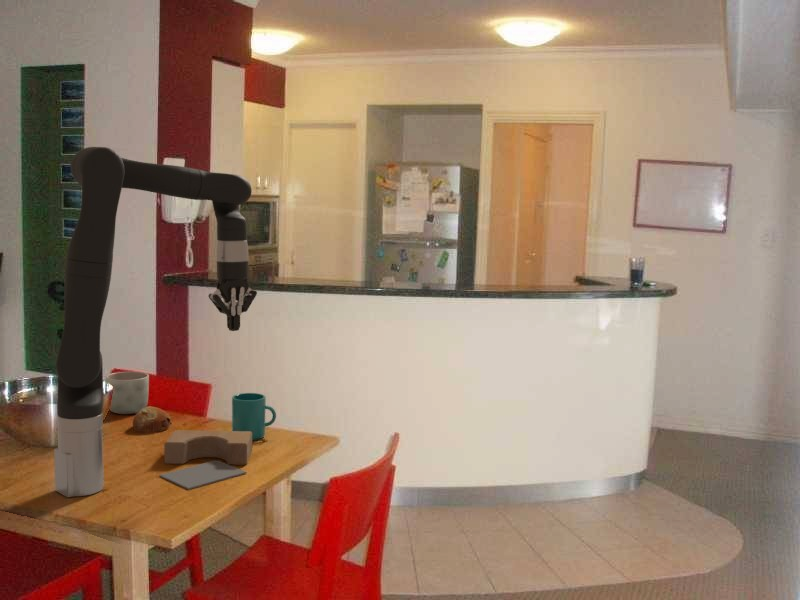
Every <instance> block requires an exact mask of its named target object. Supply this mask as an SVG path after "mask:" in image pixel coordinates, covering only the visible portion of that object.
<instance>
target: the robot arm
mask: <svg viewBox="0 0 800 600" xmlns="http://www.w3.org/2000/svg"><path fill="white" fill-rule="evenodd" d="M69 166H70V169H69V170H70V173H71V175H72V177H73V179H74V180H75V182H76V183H77V184H78V185H80V186H81V204H80V205H81V207H80V212H79V217H78V220H77V223H76V225H75V228H74V230H73V233H72V235H71V238H70V240H69V244H68V248H67V254H66V260H65V261H66V262H65V271H64V285H63V286H64V288H63V291H64V292H63V293H64V294H63V299H64V300H63V302H64V304H63V305H64V308H63V309H64V310H63V311H64V321H63V330H62V334H61V340H60V344H59V349H58V353H57V356H56V360H55V371H56V374H57V405H56V409H57V410H56V411H57V413H56V415H57V447H56V448H54V450H53V452H54V453H53V455H54V459H53V460H54V490H55V492H57V493H59V494H61V495H63V496H64V497H66V498H70V497H71V498H72V497H82V496H83V497H85V496H91V495H93V494H96V493H98V492H100V491H102V490H103V489H104V480H105V479H104V438H103V437H104V430H103V429H104V426H103V423H104V422H103V421H104V420H103V419H104V416H103V412H104V411H103V406H104V405H103V404H104V401H103V399H104V398H103V397H104V394H103V393H104V390H103V389H104V388H103V387H104V384H103V380H104V378H103V374H104V373H103V372H104V370H103V366H104V365H103V355H102V352H101V327H102V321H103V316H104V311H105V309H106V305H107V301H108V297H109V291H110V285H111V279H112V269H113V262H114V261H113V259H114V248H115V247H114V246H115V238H116V237H115V235H116V234H115V233H116V219H117V211H118V206H119V202H120V198H121V192H122V189H131V190H137V191H144V192H150V193H155V194H160V195H165V196H170V197H176V198H181V199H185V200H186V199H188V200H196V201H211V202H212V206H213V207H212V208H213V211H214V216H215V219H216V223H217V224H216V239H217V240H216V242H217V243H216V250H215V251H216V253H215V254H216V278H217V284H216V290H214V292H213V293H209V294H208V299H209V301H211V303H212V304H213V305H214V306H215V307H216V309H217V310H218V312H219V313H220V314H224V315H226V327H227V329H228V330H229V331H230V332H236V331H239V330H240V328H241V315H242V314H243V313H247V312H248V309H249V308H250V306H251V305H252V303H253V301H254V300H255V298H256V296H257V294H258V291H256V290H254V289H252V288H251V287H250V283H249V280H248V279H249V277H250V275H249V274H250V273H249V272H250V270H249V267H250V266H249V265H250V262H249V246H248V245H249V244H248V224H247V219H246V218H245V217H244V216H243V215H242V214H241V209H240V205H243V204H245V203H247V202H248V201H249V199H250V198H251V196H252V185H251V184H250V182H249V180H247V179H246V178H245V177H244V176H242V175H239V174H231V173H225V172H224V173H223V172H213V171H206V170H202V169H199V168H192V167H186V166H180V165H173V164H162V163H152V162H150V163H149V162H143V161H137V160H134V159H133V160H132V159H129V158H128V159H127V158H125V157H121V156H120V155H119V153H118V152H117V151H115V150H114V149H111V148H109V147H105V146H104V147H103V146H89V147H85V148H83V149H81V150H79V151H78V152H76V153H75V154H74V155H73V156H72V159H71V162H70V165H69ZM222 299H223V300H222Z"/></svg>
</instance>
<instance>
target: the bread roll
mask: <svg viewBox="0 0 800 600" xmlns="http://www.w3.org/2000/svg"><path fill="white" fill-rule="evenodd" d="M171 419H172V418H171V416H170V414H169V413H167V411H165V410H164V409H161V408H159V407H155V406H151V405H150V406H146V408H143V409H142V410H140V411H139V412H138V413H135V416H134V417H133V420H132V428H133V430H134V431H135V432H138V433H143V434H144V433H146V434H147V433H161V432H163V431H167V430H168V429H169V428H170V427H171V426H172V423H173V422H171Z"/></svg>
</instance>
